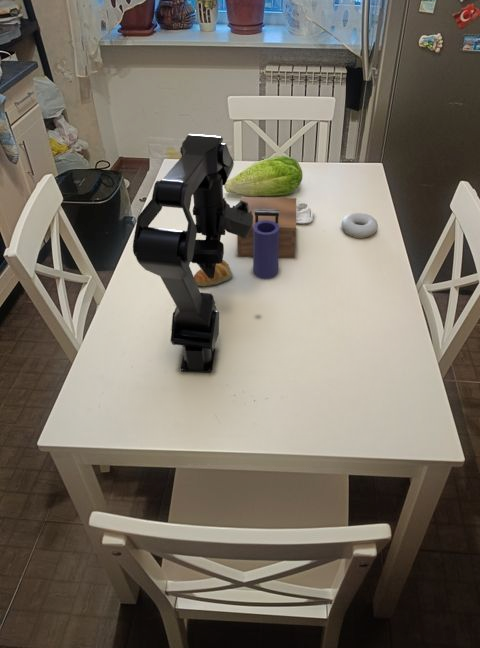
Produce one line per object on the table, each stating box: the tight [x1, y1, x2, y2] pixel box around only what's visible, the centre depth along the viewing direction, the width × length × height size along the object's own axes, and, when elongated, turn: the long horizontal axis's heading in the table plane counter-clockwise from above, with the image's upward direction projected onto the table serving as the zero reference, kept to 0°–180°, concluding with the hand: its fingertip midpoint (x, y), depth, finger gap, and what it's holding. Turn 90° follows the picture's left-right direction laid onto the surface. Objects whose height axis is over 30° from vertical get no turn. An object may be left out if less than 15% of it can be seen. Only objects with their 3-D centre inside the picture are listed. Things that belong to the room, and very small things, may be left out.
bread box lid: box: [240, 196, 297, 231], centre depth 130 cm, size 15×15×4 cm
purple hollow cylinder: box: [252, 220, 279, 280], centre depth 124 cm, size 6×6×13 cm
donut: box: [341, 212, 379, 239], centre depth 142 cm, size 10×4×10 cm
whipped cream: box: [296, 201, 314, 225], centre depth 146 cm, size 8×7×5 cm
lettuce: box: [223, 155, 303, 197], centre depth 155 cm, size 12×24×13 cm
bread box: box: [236, 229, 297, 259], centre depth 135 cm, size 14×15×9 cm
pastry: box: [193, 259, 233, 288], centre depth 125 cm, size 9×7×4 cm
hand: (213, 264), depth 109 cm, fingers open, 9 cm apart
